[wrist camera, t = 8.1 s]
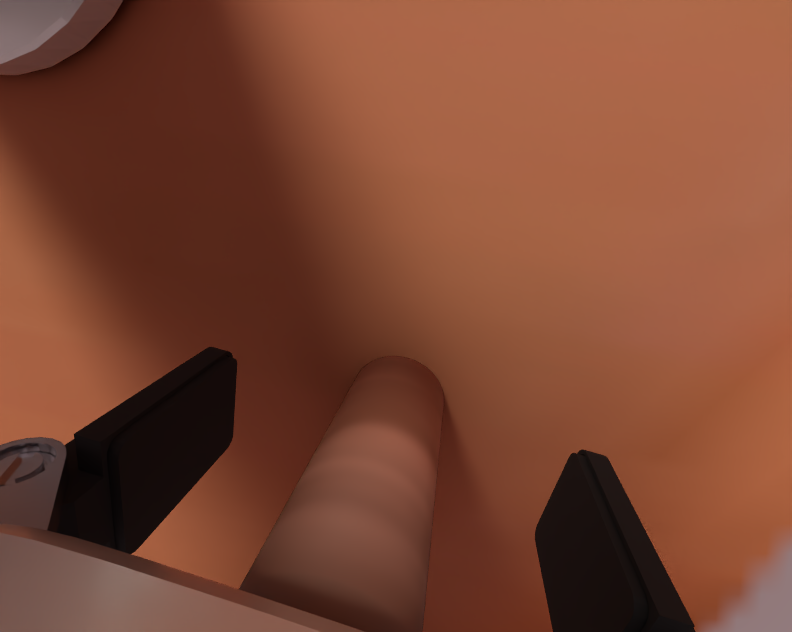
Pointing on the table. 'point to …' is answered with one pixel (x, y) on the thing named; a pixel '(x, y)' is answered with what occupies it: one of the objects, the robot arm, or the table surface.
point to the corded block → (363, 507)
